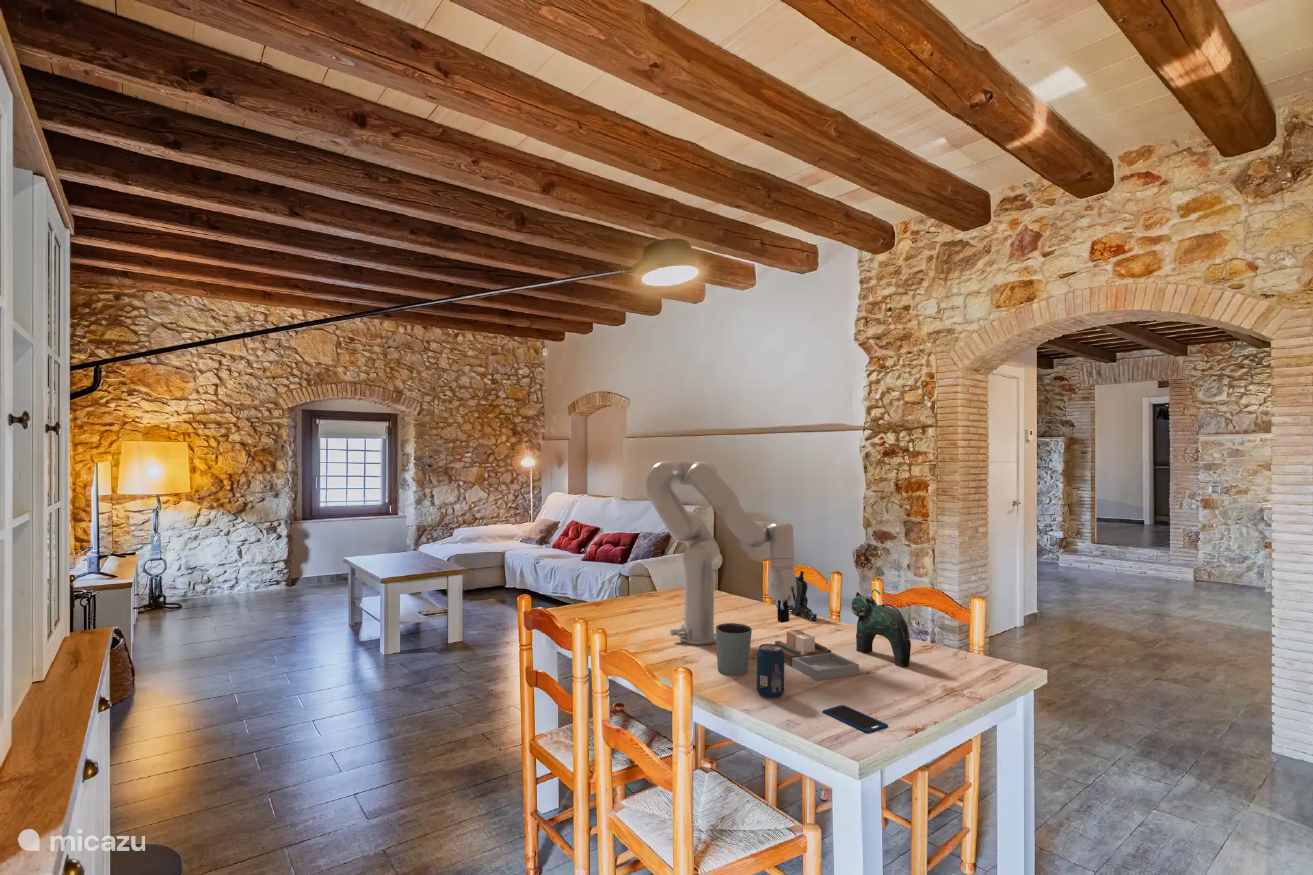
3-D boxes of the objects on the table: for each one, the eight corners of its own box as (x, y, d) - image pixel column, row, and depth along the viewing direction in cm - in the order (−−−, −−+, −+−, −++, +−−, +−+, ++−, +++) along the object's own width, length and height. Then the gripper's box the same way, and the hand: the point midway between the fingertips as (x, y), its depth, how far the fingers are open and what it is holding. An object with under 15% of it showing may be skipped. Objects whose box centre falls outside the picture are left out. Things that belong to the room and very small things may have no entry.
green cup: (730, 662, 192) (731, 620, 192) (759, 670, 185) (759, 627, 185) (707, 670, 185) (708, 627, 185) (736, 679, 178) (736, 635, 178)
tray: (816, 680, 178) (816, 670, 178) (792, 667, 188) (792, 657, 188) (858, 673, 183) (858, 664, 183) (832, 661, 194) (832, 652, 194)
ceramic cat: (849, 649, 205) (849, 585, 205) (865, 646, 208) (865, 583, 208) (900, 669, 187) (900, 598, 187) (916, 665, 190) (916, 596, 190)
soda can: (765, 687, 172) (765, 641, 173) (789, 693, 168) (789, 646, 168) (751, 695, 167) (751, 647, 167) (775, 702, 163) (775, 653, 163)
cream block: (803, 652, 192) (803, 638, 192) (795, 648, 196) (795, 635, 196) (814, 651, 193) (814, 637, 193) (806, 647, 197) (806, 633, 197)
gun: (817, 585, 233) (793, 567, 247) (809, 628, 237) (786, 608, 251) (823, 584, 235) (799, 566, 248) (815, 627, 238) (791, 607, 252)
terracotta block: (794, 648, 196) (794, 634, 196) (786, 644, 200) (786, 631, 200) (805, 646, 198) (805, 633, 198) (797, 642, 201) (797, 629, 201)
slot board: (791, 666, 189) (791, 652, 189) (770, 655, 199) (770, 641, 199) (831, 660, 194) (831, 646, 194) (809, 649, 204) (809, 636, 204)
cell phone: (867, 735, 145) (867, 732, 145) (820, 713, 157) (820, 710, 157) (889, 728, 149) (889, 724, 149) (842, 707, 161) (842, 704, 161)
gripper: (758, 560, 212) (760, 617, 212) (785, 567, 198) (786, 628, 198) (778, 558, 215) (780, 614, 214) (806, 565, 201) (807, 625, 201)
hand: (783, 621), depth 206 cm, fingers closed
